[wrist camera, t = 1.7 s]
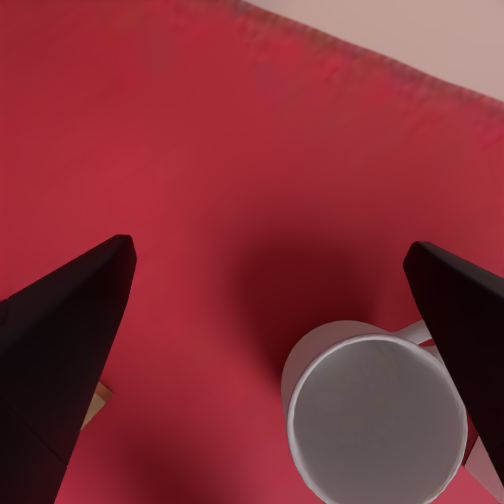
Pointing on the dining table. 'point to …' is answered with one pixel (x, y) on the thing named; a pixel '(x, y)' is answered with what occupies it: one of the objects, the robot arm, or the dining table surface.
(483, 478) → the milk
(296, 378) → the teacup
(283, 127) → the dining table surface
